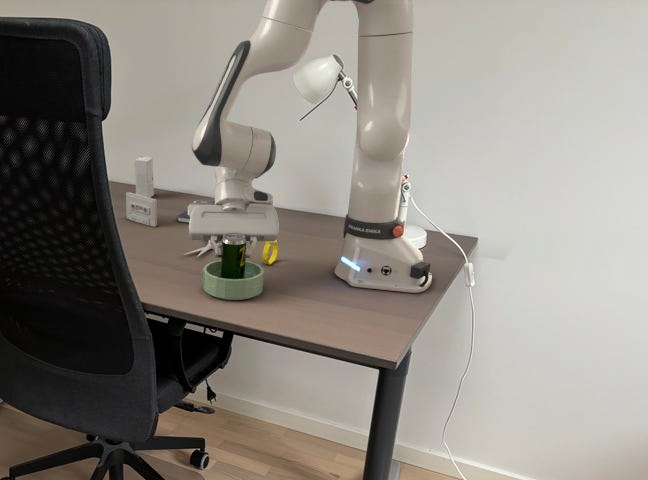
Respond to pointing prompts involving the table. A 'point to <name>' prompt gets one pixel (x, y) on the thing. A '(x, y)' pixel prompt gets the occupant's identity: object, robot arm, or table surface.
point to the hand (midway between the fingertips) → (233, 256)
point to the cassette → (139, 215)
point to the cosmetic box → (144, 176)
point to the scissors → (204, 248)
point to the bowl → (233, 282)
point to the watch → (266, 251)
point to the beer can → (233, 256)
